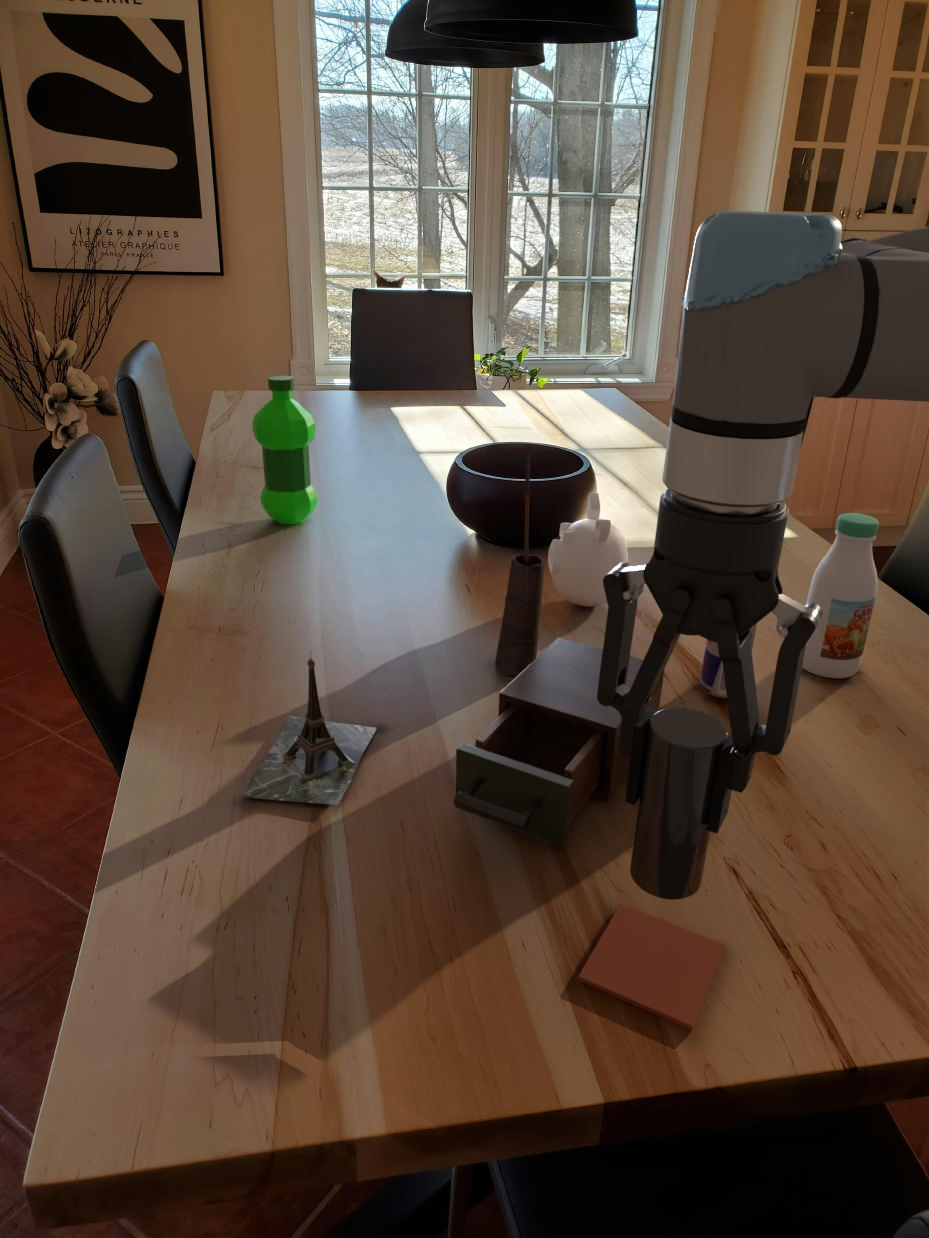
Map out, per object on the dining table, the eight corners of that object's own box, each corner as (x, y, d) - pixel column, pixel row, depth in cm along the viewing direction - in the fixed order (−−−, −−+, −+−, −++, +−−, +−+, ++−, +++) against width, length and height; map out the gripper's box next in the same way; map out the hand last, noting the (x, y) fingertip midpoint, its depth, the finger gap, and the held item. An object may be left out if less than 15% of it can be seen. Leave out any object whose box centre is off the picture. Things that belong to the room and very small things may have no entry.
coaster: (725, 949, 72) (726, 944, 72) (692, 1031, 65) (692, 1026, 65) (619, 907, 76) (620, 903, 76) (577, 980, 69) (577, 975, 69)
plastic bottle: (327, 512, 165) (320, 374, 154) (305, 532, 155) (296, 386, 145) (276, 507, 167) (266, 370, 156) (251, 526, 157) (238, 381, 147)
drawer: (543, 875, 78) (548, 812, 75) (432, 831, 83) (432, 771, 80) (617, 772, 92) (623, 716, 89) (517, 740, 97) (520, 686, 94)
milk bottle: (791, 671, 114) (821, 522, 105) (798, 646, 120) (827, 504, 112) (856, 685, 111) (892, 533, 102) (860, 659, 117) (895, 513, 109)
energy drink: (706, 673, 113) (720, 586, 108) (749, 684, 111) (765, 596, 106) (693, 691, 109) (707, 602, 104) (738, 704, 107) (754, 613, 101)
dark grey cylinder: (709, 866, 68) (736, 720, 62) (689, 910, 63) (715, 757, 58) (643, 843, 70) (663, 699, 64) (619, 883, 66) (638, 733, 60)
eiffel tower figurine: (289, 719, 102) (281, 612, 96) (377, 727, 100) (374, 620, 95) (241, 800, 88) (228, 682, 82) (341, 811, 87) (335, 692, 81)
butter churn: (564, 688, 109) (582, 464, 97) (486, 690, 108) (494, 464, 96) (552, 652, 117) (567, 441, 105) (479, 653, 117) (486, 441, 104)
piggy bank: (531, 591, 135) (536, 495, 128) (602, 582, 138) (610, 489, 132) (564, 626, 124) (572, 524, 118) (640, 616, 128) (652, 516, 121)
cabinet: (608, 801, 89) (616, 728, 85) (496, 763, 95) (499, 692, 91) (656, 732, 101) (665, 665, 97) (553, 701, 106) (558, 637, 102)
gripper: (896, 504, 53) (819, 821, 63) (605, 456, 61) (578, 744, 71) (879, 543, 47) (797, 885, 57) (559, 484, 55) (537, 794, 65)
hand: (676, 806), depth 64 cm, fingers closed on dark grey cylinder, 5 cm apart
